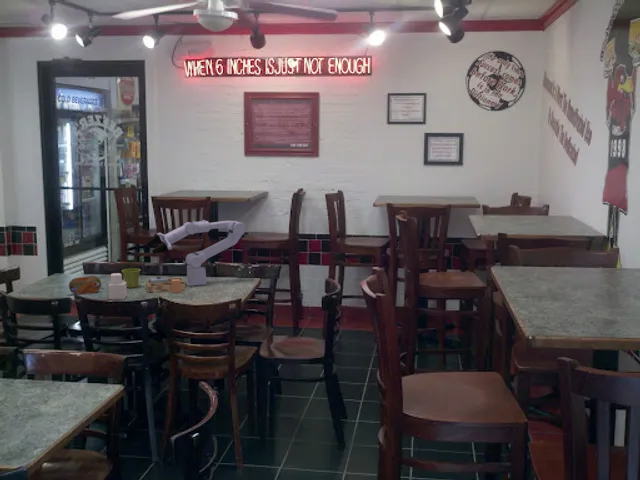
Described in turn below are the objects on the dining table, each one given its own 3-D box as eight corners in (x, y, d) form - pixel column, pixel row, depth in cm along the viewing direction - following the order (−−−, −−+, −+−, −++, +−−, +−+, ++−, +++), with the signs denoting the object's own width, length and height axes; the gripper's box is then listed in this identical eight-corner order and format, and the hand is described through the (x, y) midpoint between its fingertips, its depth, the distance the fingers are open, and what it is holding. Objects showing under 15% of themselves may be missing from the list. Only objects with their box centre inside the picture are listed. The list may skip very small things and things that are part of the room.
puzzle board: (181, 285, 364) (181, 277, 363) (185, 290, 353) (185, 281, 352) (145, 288, 358) (145, 280, 357) (148, 292, 347) (148, 284, 346)
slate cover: (165, 281, 359) (165, 274, 358) (168, 284, 351) (168, 277, 351) (149, 282, 356) (149, 275, 356) (151, 285, 349) (151, 278, 348)
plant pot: (136, 288, 357) (135, 271, 355) (119, 288, 358) (118, 271, 357) (144, 285, 366) (143, 268, 365) (127, 284, 368) (126, 268, 366)
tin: (70, 295, 341) (69, 278, 340) (68, 294, 344) (67, 277, 343) (101, 292, 349) (100, 275, 348) (100, 291, 352) (99, 274, 351)
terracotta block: (179, 291, 351) (179, 279, 350) (181, 292, 347) (180, 280, 346) (171, 291, 349) (171, 279, 349) (172, 293, 346) (172, 281, 345)
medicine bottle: (111, 296, 339) (110, 271, 337) (126, 296, 340) (125, 271, 338) (108, 299, 332) (107, 274, 330) (124, 299, 333) (123, 274, 331)
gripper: (166, 223, 362) (141, 236, 358) (177, 236, 352) (152, 249, 348) (170, 234, 367) (146, 246, 362) (181, 247, 357) (157, 260, 352)
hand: (149, 248), depth 355 cm, fingers open, 7 cm apart
